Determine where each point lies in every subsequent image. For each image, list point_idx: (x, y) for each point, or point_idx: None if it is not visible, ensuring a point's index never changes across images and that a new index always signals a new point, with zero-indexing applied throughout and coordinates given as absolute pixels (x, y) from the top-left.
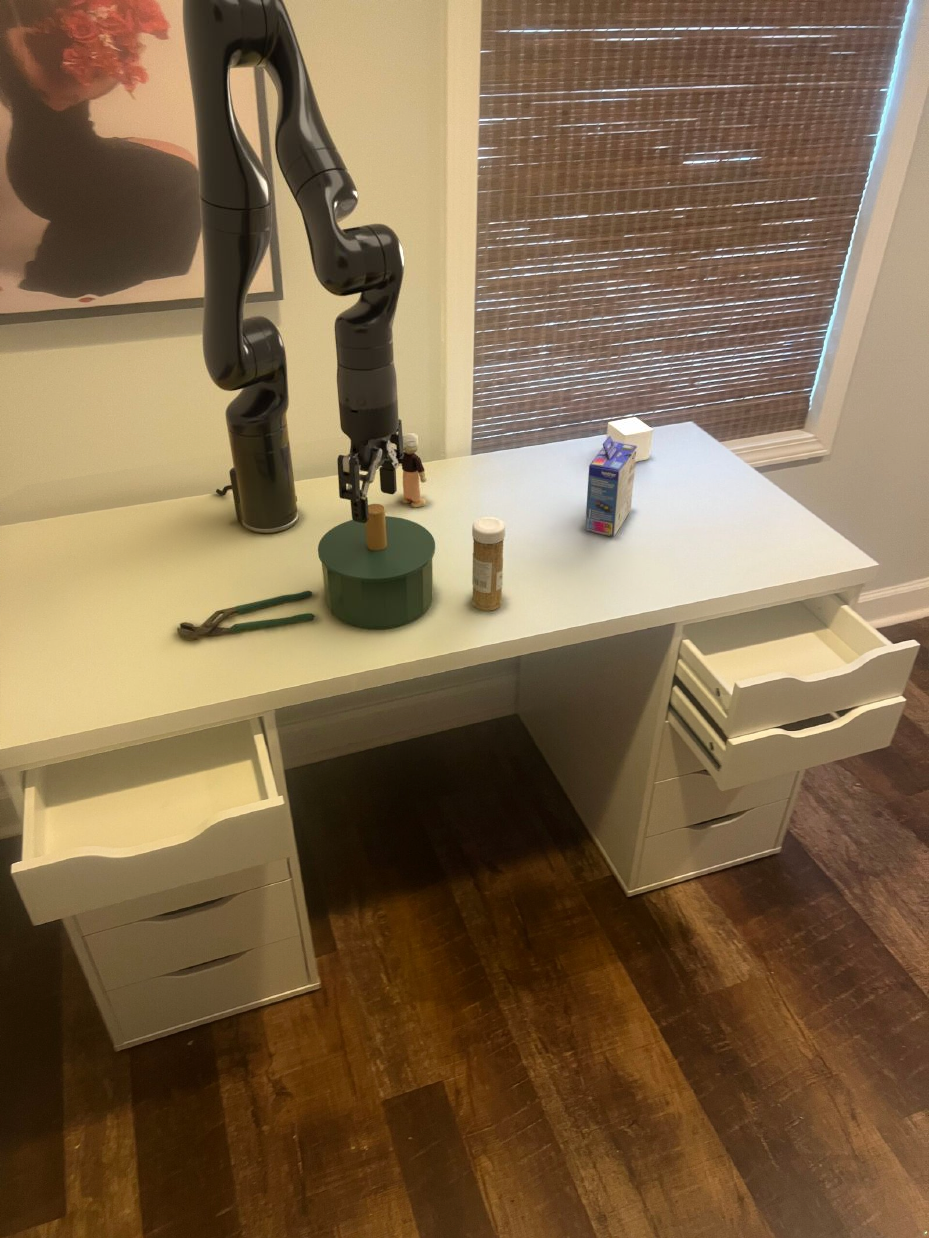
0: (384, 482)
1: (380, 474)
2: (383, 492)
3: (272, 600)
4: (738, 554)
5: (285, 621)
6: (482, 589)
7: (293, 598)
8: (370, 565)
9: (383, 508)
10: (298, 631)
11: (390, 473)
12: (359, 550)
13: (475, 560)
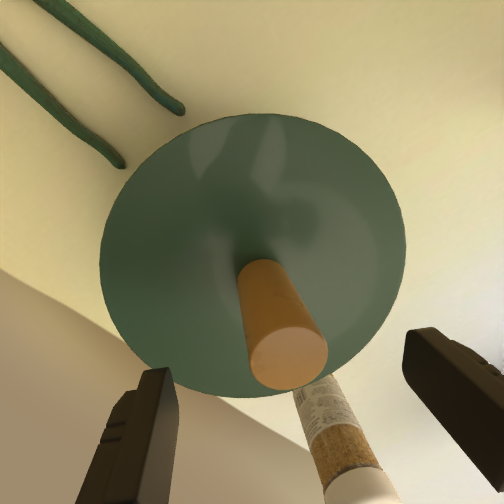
0: (442, 379)
1: (481, 397)
2: (407, 335)
3: (102, 47)
4: (483, 500)
5: (66, 127)
6: (294, 399)
7: (144, 88)
8: (175, 318)
9: (303, 383)
10: (76, 162)
11: (486, 459)
12: (219, 259)
13: (313, 434)
